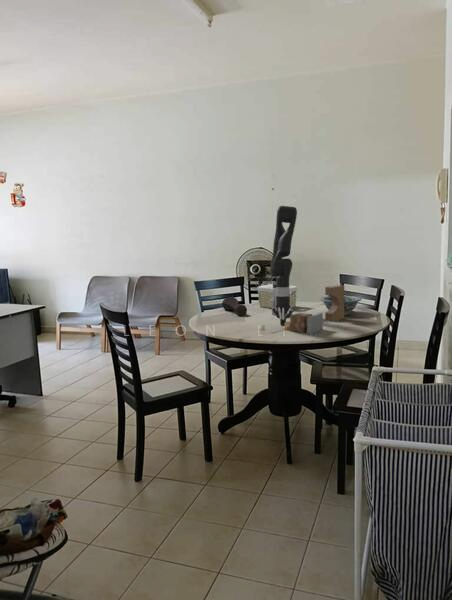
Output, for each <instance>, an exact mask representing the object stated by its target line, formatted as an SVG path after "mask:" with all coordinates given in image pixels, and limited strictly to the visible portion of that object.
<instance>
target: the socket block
mask: <svg viewBox="0 0 452 600" xmlns="http://www.w3.org/2000/svg"><path fill="white" fill-rule="evenodd" d="M312 315H313V314H312V313H306V312H305V313H304V312H297V313H295V314H292V315H291V316H290V317H289V322H290V330H289V331H293V332H300V333H301V332H302V333H306V332H307V317H309V316H312Z"/></svg>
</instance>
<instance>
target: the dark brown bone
mask: <svg viewBox="0 0 452 600" xmlns="http://www.w3.org/2000/svg"><path fill="white" fill-rule="evenodd" d="M221 305H222V307H223V309H224V310H225V311H231V310H232V311H234V312H235V313H236V315H237V316H241V317H244V316H246V314H247V312H248V308H247V307H246V305H244V304H240V303H239V301H238V299H237V298H236V297H234V296H229V297H225V298H224V299H223V300H222V302H221Z"/></svg>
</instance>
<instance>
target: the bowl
mask: <svg viewBox="0 0 452 600" xmlns="http://www.w3.org/2000/svg"><path fill="white" fill-rule="evenodd" d="M320 301H321V302H323V303H324V305H325V308H326V309H327V311H329V309H330V308H331V306H332V299H331V298H330V296H328V295H325V296H322V297H321V298H320ZM360 301H362V298H361V297H360V296H353V295H344V316H347V315H349V314H350V313H351V312H352V311H354V309H355V308H356V306H357V304H358V302H360Z"/></svg>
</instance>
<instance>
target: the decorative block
mask: <svg viewBox="0 0 452 600" xmlns="http://www.w3.org/2000/svg"><path fill="white" fill-rule="evenodd" d="M324 288H325V289H324V290H325V292H324V295H325V296H330V298H331V299H332V306H331V308H330V309H329V310H327V311H325V318H324V320H325V321H328V322H337V321H341V320H345V315H344V296H345V285H341V284H336V285H335V284H334V285H329V286H325V287H324Z"/></svg>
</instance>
